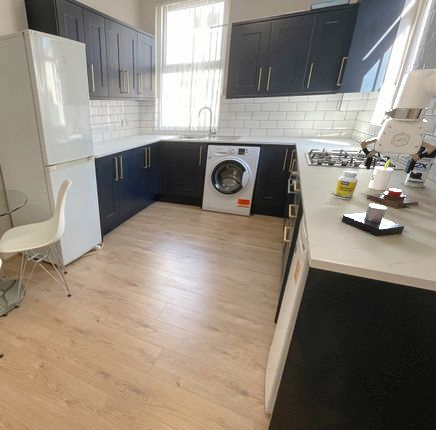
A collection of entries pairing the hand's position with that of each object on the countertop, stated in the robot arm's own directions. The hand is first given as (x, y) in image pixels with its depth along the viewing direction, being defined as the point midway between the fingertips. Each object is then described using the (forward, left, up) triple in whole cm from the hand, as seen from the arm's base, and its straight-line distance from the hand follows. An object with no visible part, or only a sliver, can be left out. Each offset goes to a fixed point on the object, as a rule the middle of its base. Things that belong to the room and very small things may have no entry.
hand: (386, 170), depth 91 cm
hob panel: (-3, +3, -19) cm, 19 cm away
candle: (+31, -43, -19) cm, 56 cm away
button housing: (+15, -30, -19) cm, 39 cm away
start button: (+15, -30, -15) cm, 37 cm away
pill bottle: (+25, -17, -19) cm, 36 cm away
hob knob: (-3, +3, -16) cm, 17 cm away
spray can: (+31, -65, -19) cm, 75 cm away
